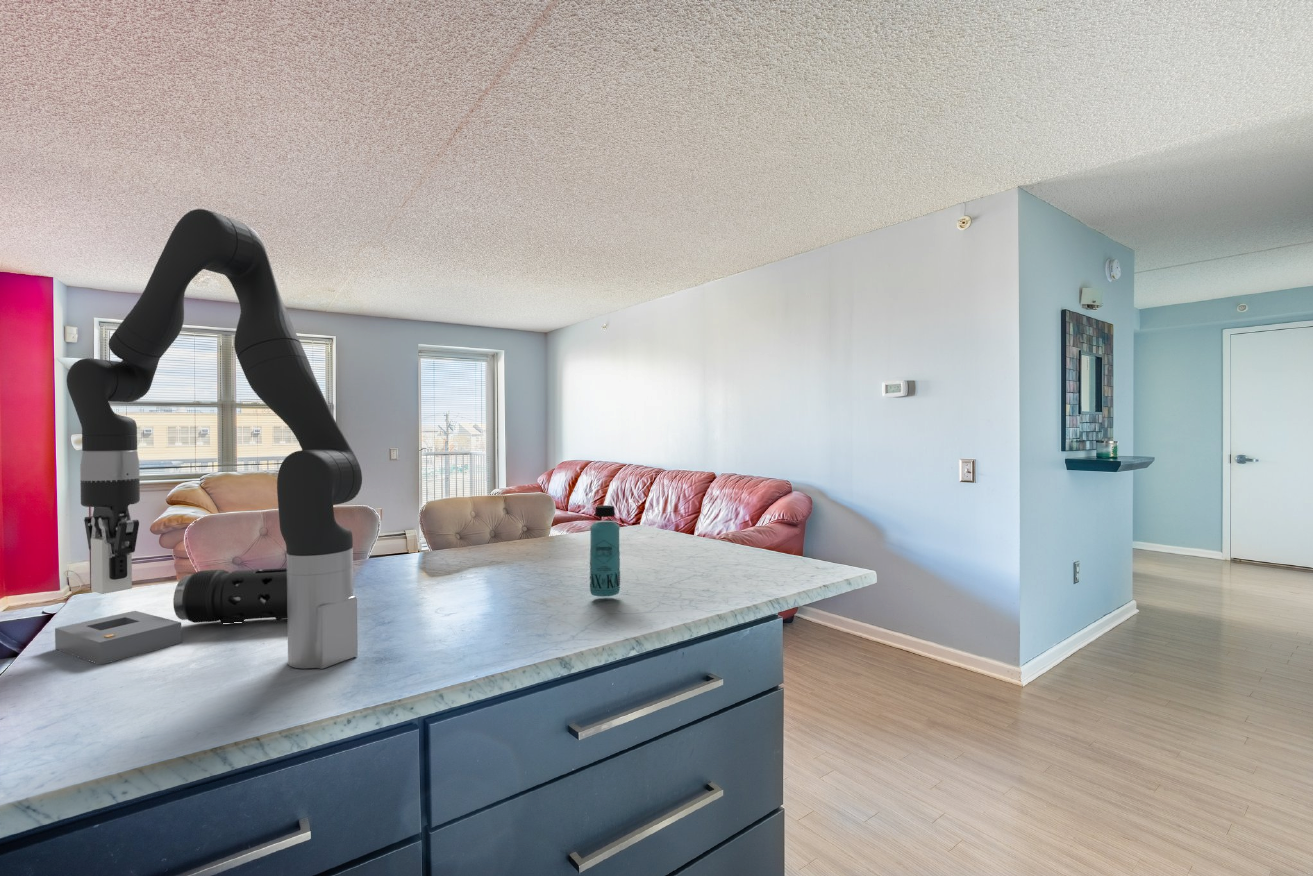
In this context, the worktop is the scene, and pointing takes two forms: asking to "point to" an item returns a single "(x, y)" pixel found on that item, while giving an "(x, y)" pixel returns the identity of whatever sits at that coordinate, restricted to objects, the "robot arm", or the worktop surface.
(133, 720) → the worktop surface
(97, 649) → the outlet block
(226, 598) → the muzzle brake
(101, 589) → the block
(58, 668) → the worktop surface
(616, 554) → the beverage bottle
